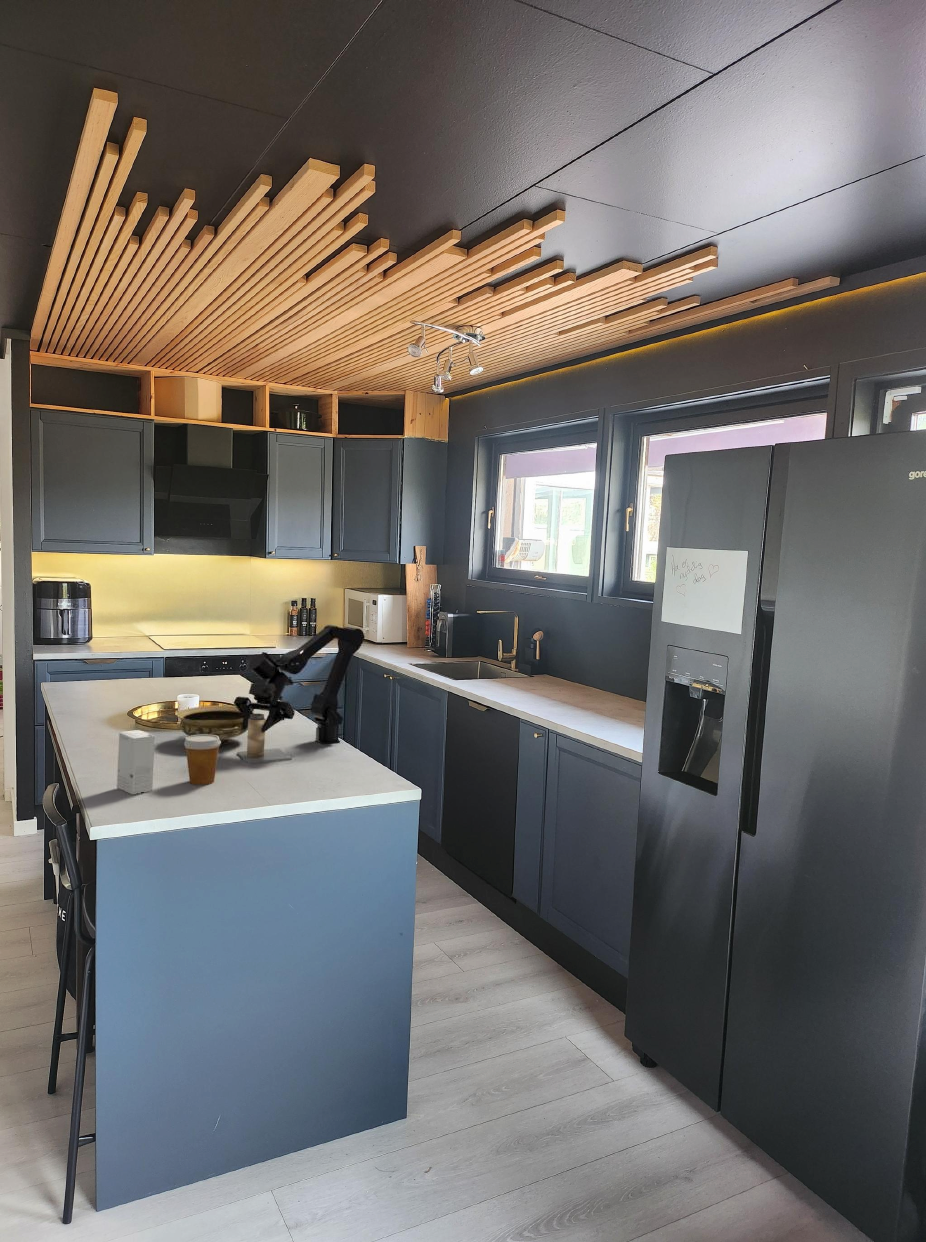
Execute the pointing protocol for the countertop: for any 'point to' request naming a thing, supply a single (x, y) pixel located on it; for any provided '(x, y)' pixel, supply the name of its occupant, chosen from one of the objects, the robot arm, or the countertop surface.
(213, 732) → the gold ornate bowl
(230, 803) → the countertop surface
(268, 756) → the slate tile
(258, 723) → the oak pepper mill
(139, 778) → the skincare box
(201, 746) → the disposable coffee cup
